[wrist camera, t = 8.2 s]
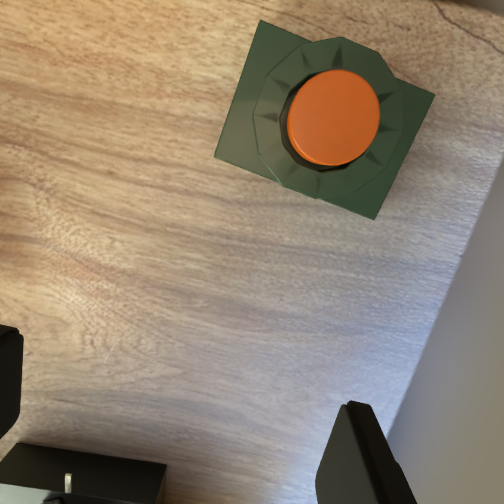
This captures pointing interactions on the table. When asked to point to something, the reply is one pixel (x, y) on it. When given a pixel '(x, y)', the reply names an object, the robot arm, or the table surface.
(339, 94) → the release button
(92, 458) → the black stand
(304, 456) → the table surface
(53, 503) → the tapered metal-edged block
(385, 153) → the box
